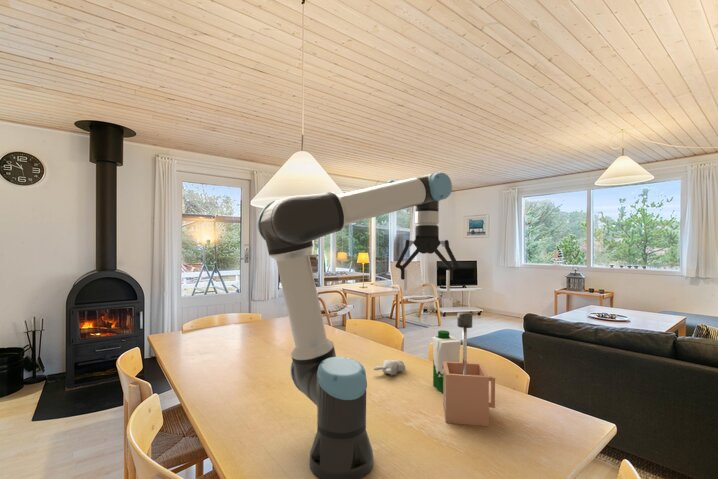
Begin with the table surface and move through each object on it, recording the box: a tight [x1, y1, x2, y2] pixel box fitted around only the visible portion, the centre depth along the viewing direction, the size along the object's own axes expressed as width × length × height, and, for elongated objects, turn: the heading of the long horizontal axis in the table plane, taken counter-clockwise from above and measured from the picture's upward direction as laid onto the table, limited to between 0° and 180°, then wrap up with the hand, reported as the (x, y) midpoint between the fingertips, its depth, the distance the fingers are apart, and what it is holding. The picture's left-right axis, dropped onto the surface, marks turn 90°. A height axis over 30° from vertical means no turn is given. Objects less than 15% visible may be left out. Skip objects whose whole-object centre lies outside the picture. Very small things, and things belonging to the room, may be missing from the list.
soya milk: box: [431, 330, 462, 394], centre depth 130 cm, size 9×9×20 cm
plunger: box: [456, 311, 473, 375], centre depth 110 cm, size 9×9×22 cm
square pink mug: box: [442, 361, 496, 427], centre depth 110 cm, size 12×15×14 cm
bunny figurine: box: [373, 359, 406, 377], centre depth 145 cm, size 10×5×15 cm
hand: (426, 290), depth 117 cm, fingers open, 13 cm apart
